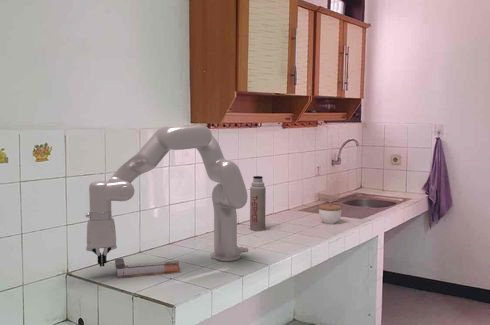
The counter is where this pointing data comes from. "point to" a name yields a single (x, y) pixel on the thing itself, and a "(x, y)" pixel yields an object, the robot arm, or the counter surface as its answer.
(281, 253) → the counter surface
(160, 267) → the tongs fixed
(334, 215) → the lidded bowl
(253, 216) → the thermos bottle
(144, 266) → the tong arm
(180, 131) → the robot arm
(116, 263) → the tab
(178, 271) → the walnut board
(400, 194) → the counter surface
